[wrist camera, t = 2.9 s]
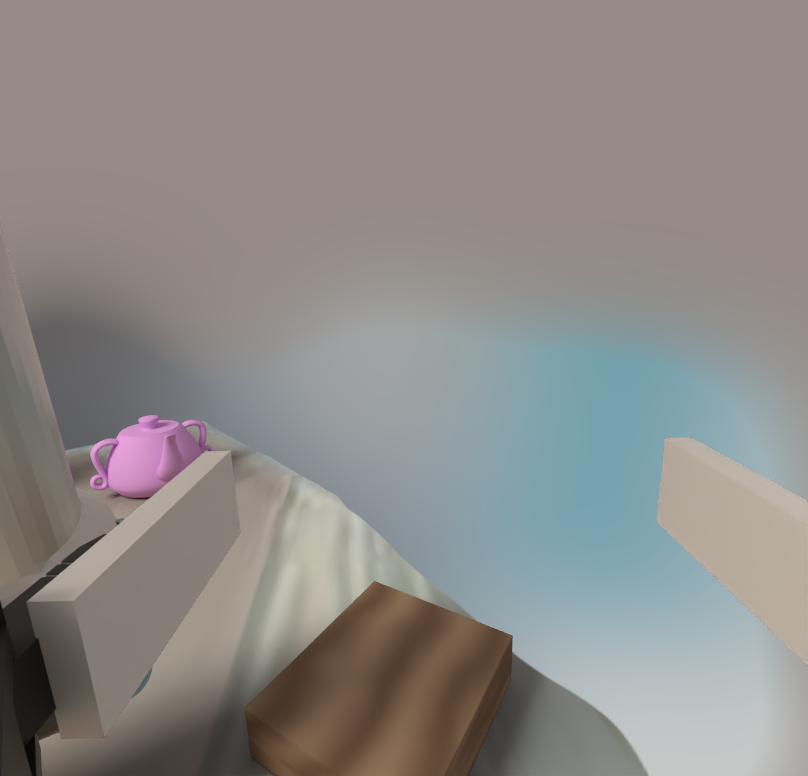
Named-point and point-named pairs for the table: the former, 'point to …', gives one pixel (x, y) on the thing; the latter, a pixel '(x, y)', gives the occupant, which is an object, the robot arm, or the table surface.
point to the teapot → (147, 456)
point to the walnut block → (384, 693)
